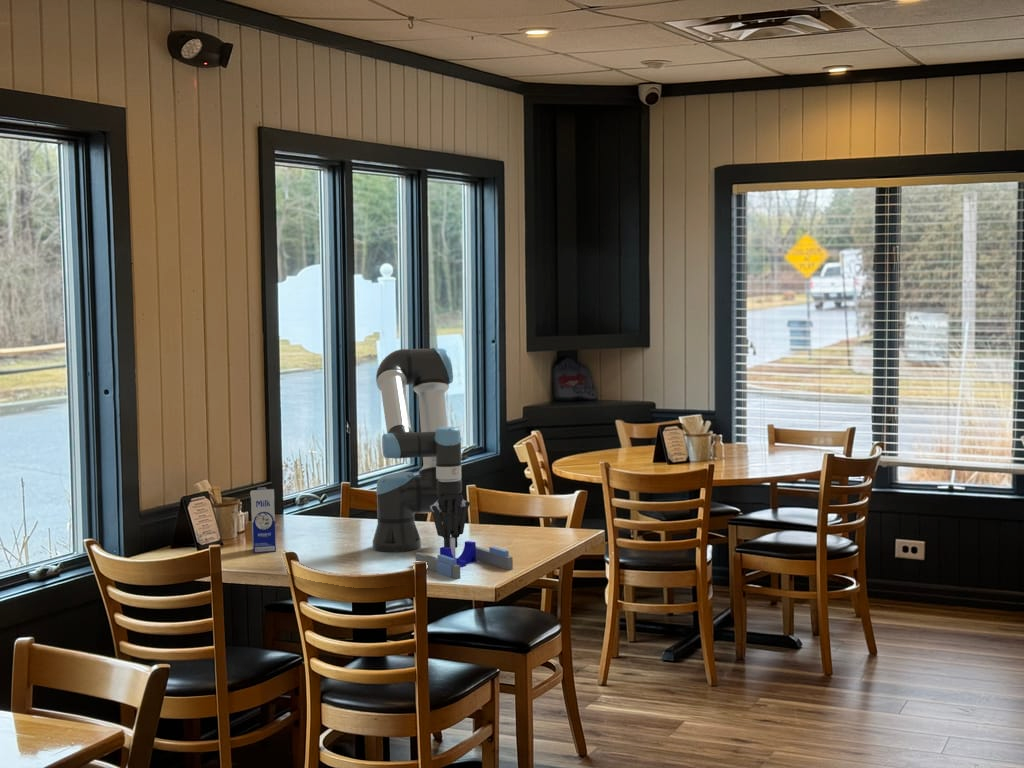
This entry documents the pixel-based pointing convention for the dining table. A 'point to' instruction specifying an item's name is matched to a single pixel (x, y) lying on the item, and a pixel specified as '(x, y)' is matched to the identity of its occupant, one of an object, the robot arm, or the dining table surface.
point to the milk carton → (263, 520)
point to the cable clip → (465, 557)
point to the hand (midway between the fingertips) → (451, 559)
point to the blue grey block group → (452, 570)
